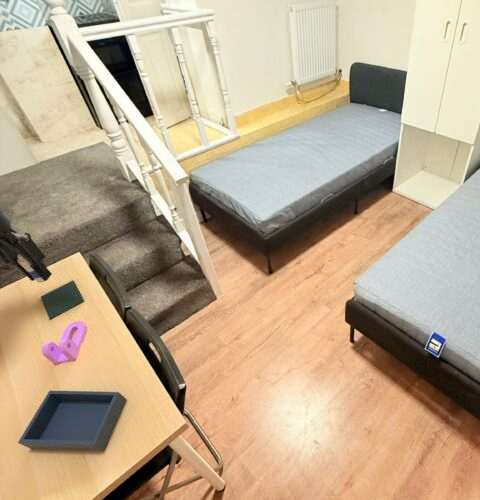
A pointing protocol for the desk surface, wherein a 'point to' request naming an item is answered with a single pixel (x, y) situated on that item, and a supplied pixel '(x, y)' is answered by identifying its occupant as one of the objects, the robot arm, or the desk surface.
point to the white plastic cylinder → (29, 268)
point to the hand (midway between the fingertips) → (41, 277)
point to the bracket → (66, 344)
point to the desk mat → (62, 299)
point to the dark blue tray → (74, 421)
